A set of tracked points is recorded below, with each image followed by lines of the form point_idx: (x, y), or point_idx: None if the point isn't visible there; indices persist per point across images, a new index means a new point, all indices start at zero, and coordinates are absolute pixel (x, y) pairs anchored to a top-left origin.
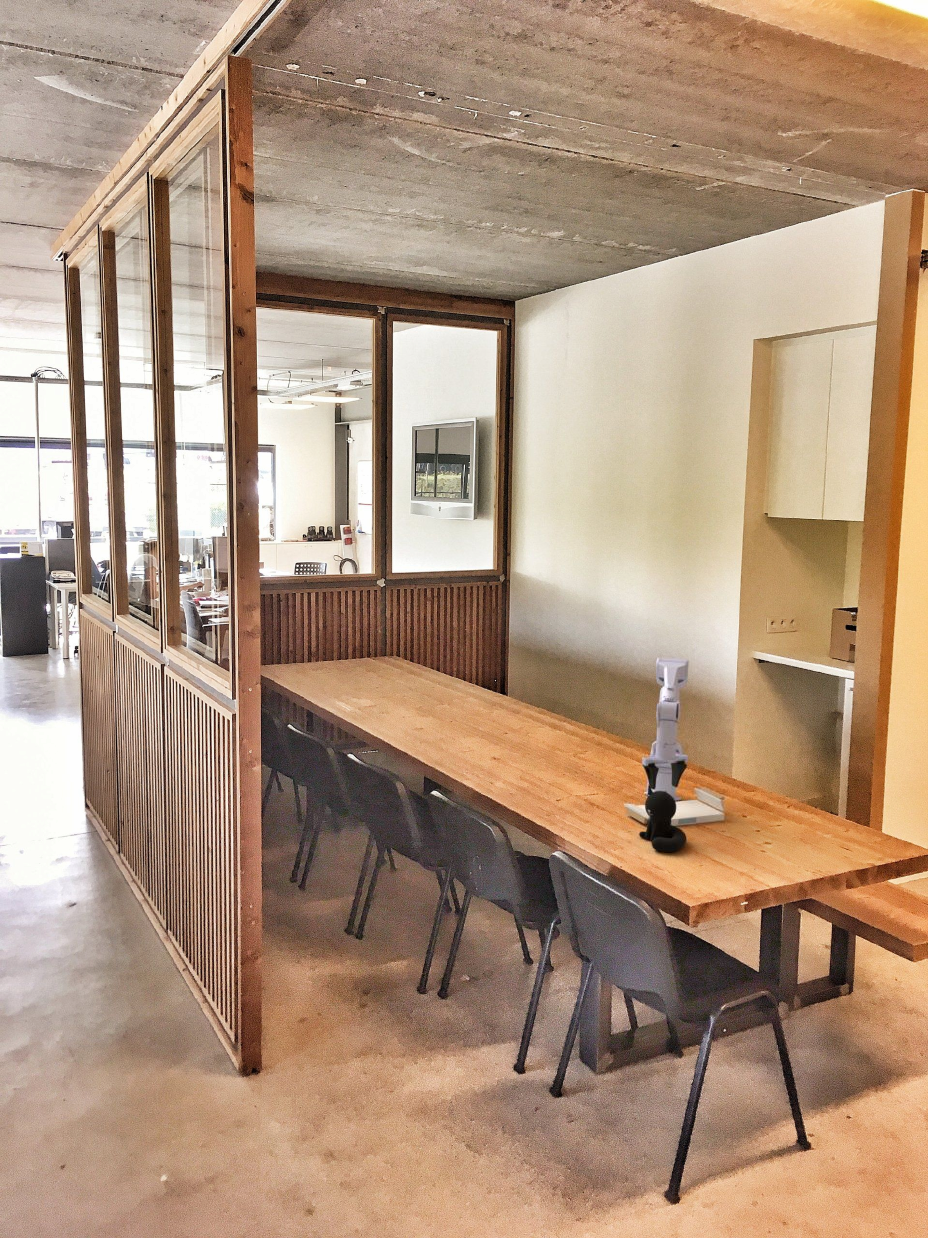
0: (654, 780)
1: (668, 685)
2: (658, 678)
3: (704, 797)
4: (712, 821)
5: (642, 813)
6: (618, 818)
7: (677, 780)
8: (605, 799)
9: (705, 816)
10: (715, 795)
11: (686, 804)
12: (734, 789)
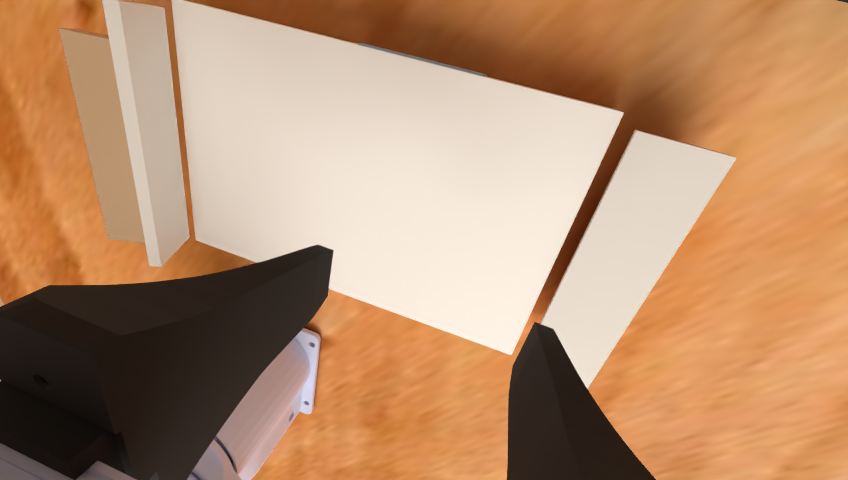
0: (578, 390)
1: None
2: None
3: (165, 184)
4: (269, 21)
5: (683, 233)
6: (660, 334)
7: (290, 268)
8: (478, 465)
9: (293, 28)
10: (103, 98)
11: (271, 225)
12: (21, 260)
